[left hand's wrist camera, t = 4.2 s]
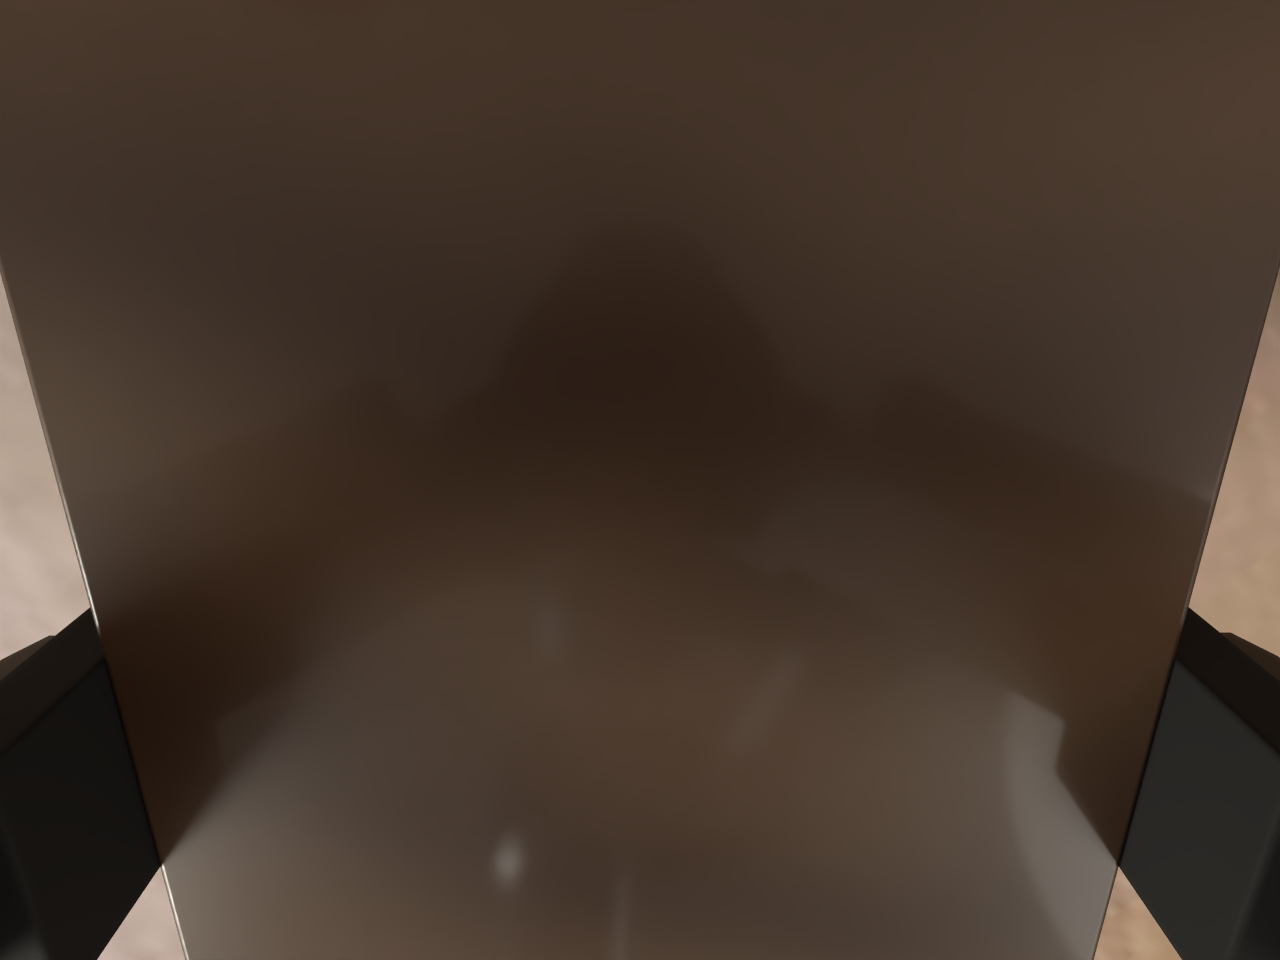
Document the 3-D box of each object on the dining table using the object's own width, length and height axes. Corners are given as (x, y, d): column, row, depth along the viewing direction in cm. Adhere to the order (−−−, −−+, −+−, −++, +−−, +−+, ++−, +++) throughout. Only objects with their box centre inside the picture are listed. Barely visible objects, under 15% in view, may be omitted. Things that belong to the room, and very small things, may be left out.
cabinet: (319, -310, 14) (-486, -1496, 4) (959, -310, 14) (1761, -1496, 4) (417, 596, 20) (197, 1023, 10) (861, 596, 20) (1080, 1022, 10)
